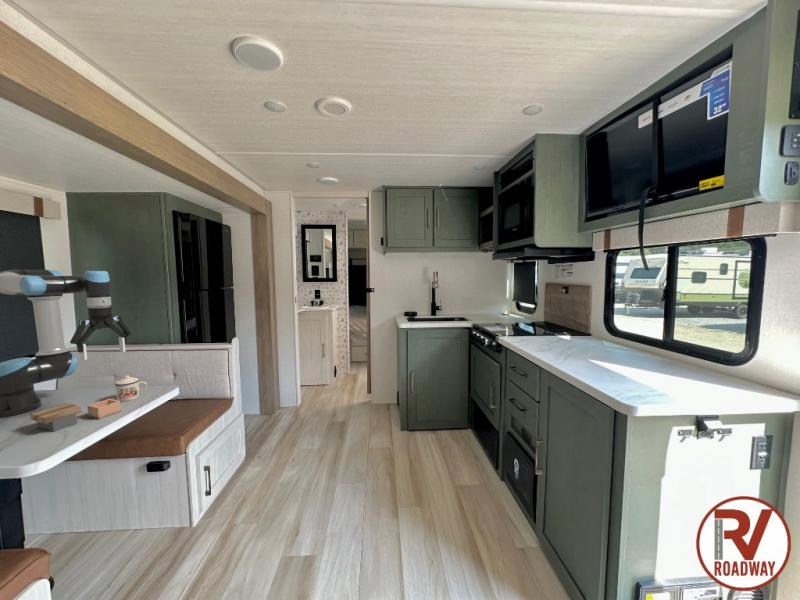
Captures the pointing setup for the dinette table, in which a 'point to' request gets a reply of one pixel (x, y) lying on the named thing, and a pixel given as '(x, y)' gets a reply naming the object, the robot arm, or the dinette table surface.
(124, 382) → the teacup with lid
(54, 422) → the gray rectangular block
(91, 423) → the dinette table surface
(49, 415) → the lid
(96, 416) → the pink hollow square box
